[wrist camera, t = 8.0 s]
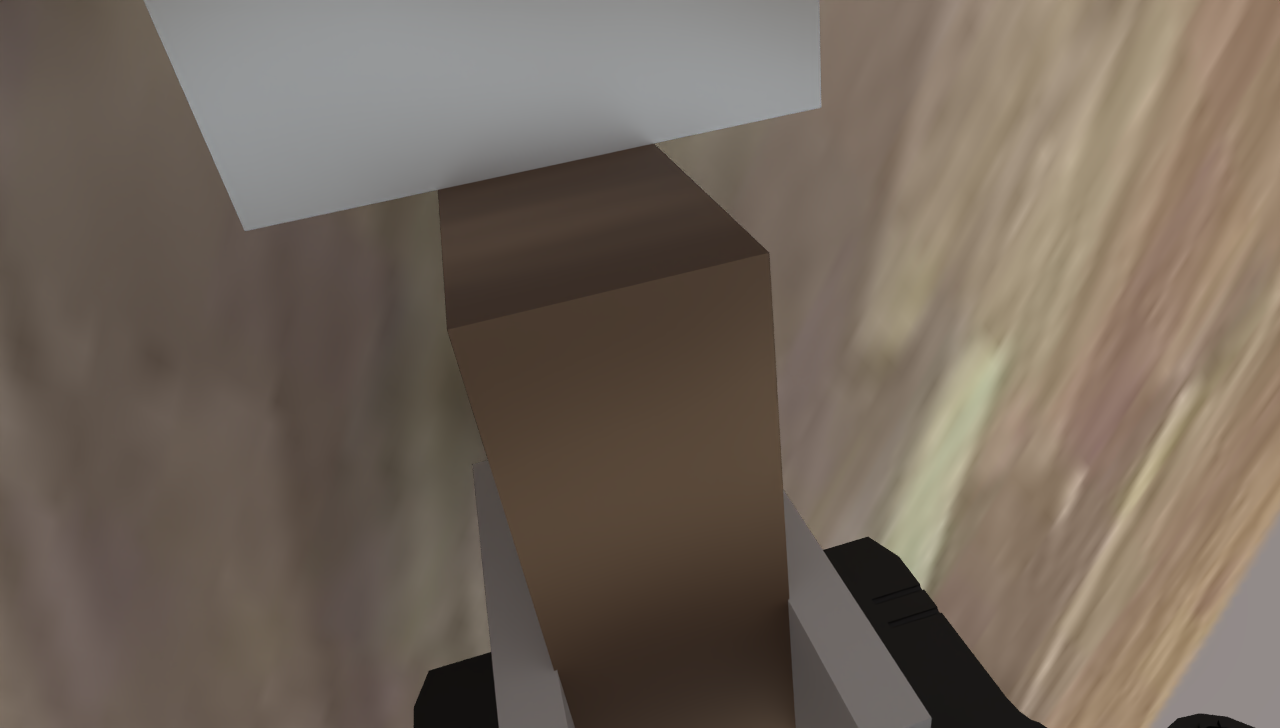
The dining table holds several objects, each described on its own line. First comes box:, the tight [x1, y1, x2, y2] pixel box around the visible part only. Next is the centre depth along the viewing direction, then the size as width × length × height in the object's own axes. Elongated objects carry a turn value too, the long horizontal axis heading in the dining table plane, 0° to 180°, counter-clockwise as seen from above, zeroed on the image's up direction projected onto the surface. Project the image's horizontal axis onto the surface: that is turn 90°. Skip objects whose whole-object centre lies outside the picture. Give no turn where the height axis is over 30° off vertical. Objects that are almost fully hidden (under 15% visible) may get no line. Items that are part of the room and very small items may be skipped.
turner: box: [144, 0, 821, 728], centre depth 10 cm, size 19×8×5 cm, turn 8°
